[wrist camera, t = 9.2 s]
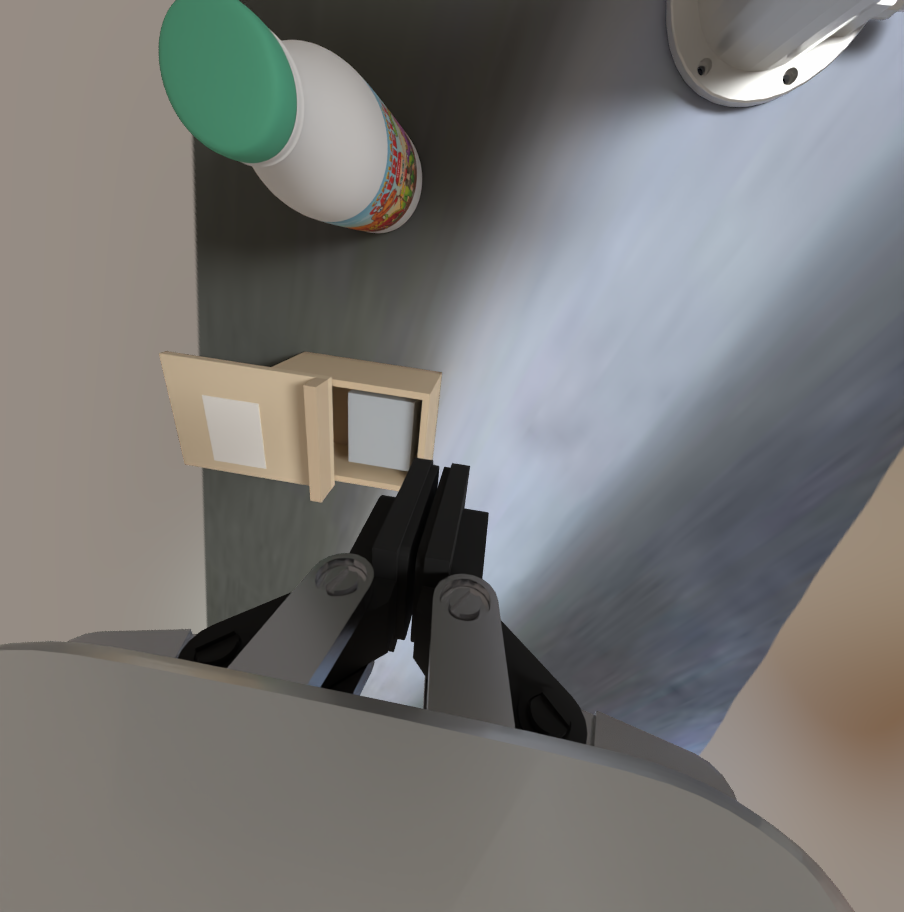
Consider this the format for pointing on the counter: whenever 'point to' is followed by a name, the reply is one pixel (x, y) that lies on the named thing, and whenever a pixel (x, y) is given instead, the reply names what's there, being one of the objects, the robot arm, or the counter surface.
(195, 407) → the lid
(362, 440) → the mailer box
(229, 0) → the milk bottle
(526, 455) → the counter surface
